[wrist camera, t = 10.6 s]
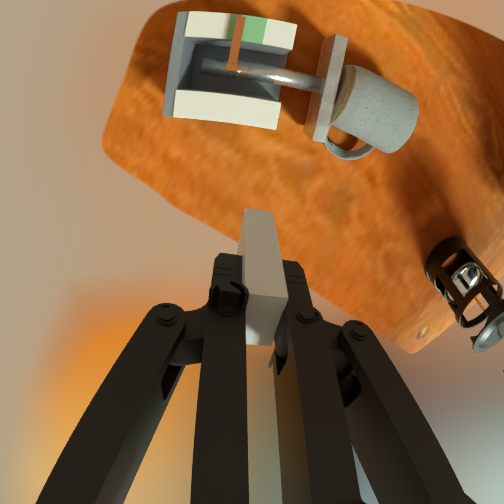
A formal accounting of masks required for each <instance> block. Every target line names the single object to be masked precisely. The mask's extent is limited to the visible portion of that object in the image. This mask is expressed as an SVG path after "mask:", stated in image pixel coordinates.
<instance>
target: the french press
mask: <svg viewBox="0 0 504 504" xmlns="http://www.w3.org/2000/svg"><path fill="white" fill-rule="evenodd" d="M460 250H462V257H461V260H460V262H459V264H458V266H457V267H456V268H455V269H454V270H453V271H452V272H451V273H449V274H447V273H446V271H445V270H444V269H443V267H442V264H443V263H444V262H445V261H446V260H447V259H448V258H449V257H450V256H451V255H452V254H454V253H456V252H458V251H460ZM425 273H426V276H427V278H428V279H429V280H430V281H431V282H432V283H433V285H434V286H435V287H436V289H437V290H438V291H440V292H441V293H442V294H443V296H444V297H445V300H446V301H447V302H448V304H449V305H450V307H451V308H452V310H453V312H454V313H455V318H456V321H457V322H458V324H459V326H460V327H461V328H463V329H469V328H472V327H475V326H477V325H478V324H480V323H481V322H482V321H484V320H485V319H486V318H488V319H487V321H486V324H485V327H484V328H483V329H482V330H481V332H480V333H479V334H478V335H477V336H471V337H470V339H471V340H472V342H473V350H474V352H476V353H479V352H483V351H485V350H487V349H489V348H491V347H492V346H494V345H495V344H497V343H498V342H499V341H500V340H502V342H503V344H504V339H503V337H504V299H502V298H501V297H502V294H503V288H502V286H501V284H500V283H499V282H498V281H497V280H496V279H495V278H494V276H493V275H492V274H491V273H490V272H489V270H488V269H487V268H486V267H485V266H484V265H483V263H482V262H481V261H480V260H479V259H478V258H477V257H476V256H475V254H474V253H473V252H472V250H471V249H470V248H469V247H468V246H467V245H466V243H465V241H464V240H463V239H462V238H459V237H450V238H447V239H445V240H443V241H442V242H440V243H439V244H438V245H437V246H436V247H435V248H434V249H433V250H432V252H431V253H430V255H429V257H428V259H427V261H426V265H425ZM483 273H484V274H485V275H486V276H487V278H488V279H487V278H486V277H485V276H484V275H483ZM492 285H498V289H497V291H496V290H495V289H494V287H493V286H492ZM479 293H481V294H482V296H483V297H484V298H485V300H486V301H487V303H488V304H489V306H488V308H487V309H486V310H485V309H484V308H483V306H482V305H481V303H480V302H479V300H478V299H477V298H476V295H477V294H479ZM473 298H474V299H475V300H476V301H477V303H478V304H479V306H480V307H481V309H482V310H483V313H481V314H480V315H479V316H478V317H476V318H475V319H473V320H471V321H468V322H467V320H466V319H465V317H464V315H463V312H464V310H465V308H466V307H467V305H468V304H469V303H470V302H471V301H472V299H473ZM503 372H504V371H503Z"/></svg>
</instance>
